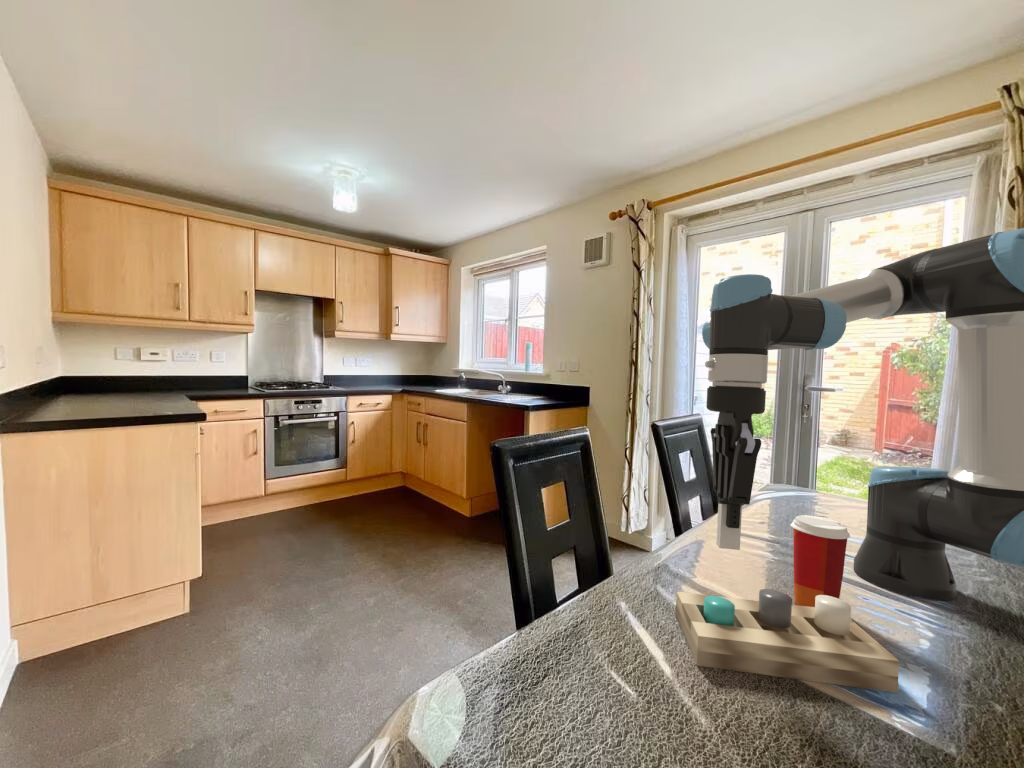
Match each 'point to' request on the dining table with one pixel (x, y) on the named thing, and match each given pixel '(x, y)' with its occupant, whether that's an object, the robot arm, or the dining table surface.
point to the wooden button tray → (785, 646)
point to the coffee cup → (818, 558)
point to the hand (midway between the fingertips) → (727, 546)
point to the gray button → (775, 608)
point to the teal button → (718, 611)
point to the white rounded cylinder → (832, 614)
